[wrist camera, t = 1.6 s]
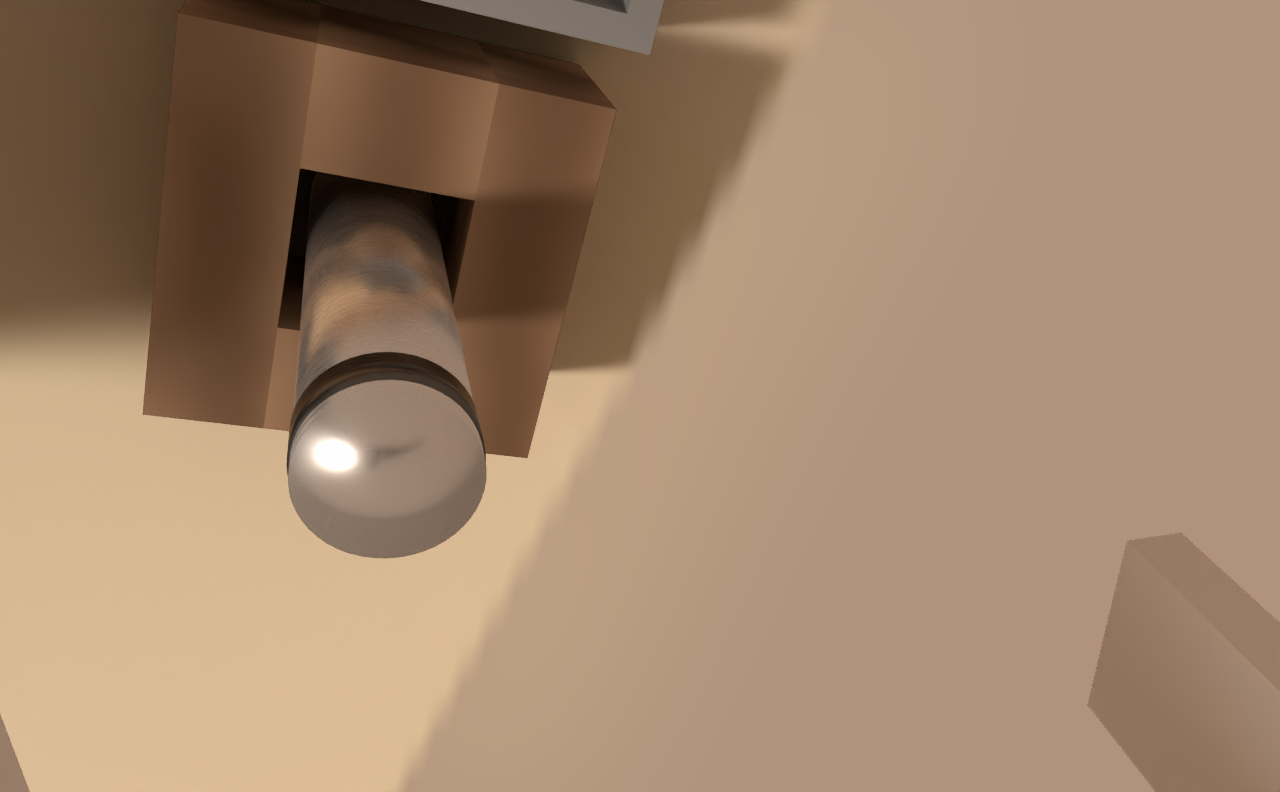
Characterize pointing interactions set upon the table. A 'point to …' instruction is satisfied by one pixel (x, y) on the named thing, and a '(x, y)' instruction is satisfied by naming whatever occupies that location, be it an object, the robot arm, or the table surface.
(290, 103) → the wooden square socket block
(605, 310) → the table surface
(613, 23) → the tray
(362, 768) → the table surface
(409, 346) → the pin
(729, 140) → the table surface
